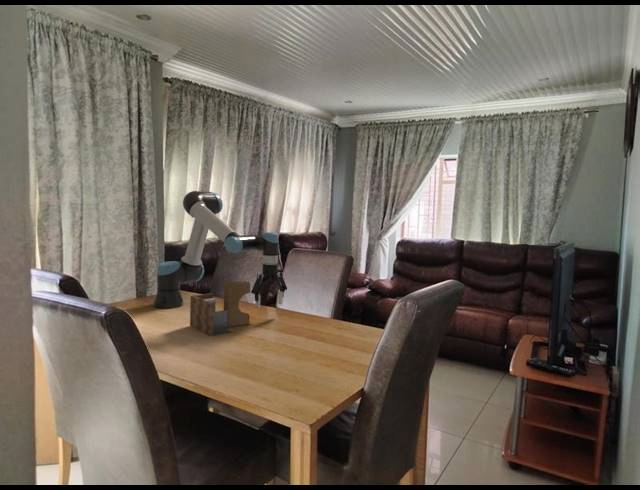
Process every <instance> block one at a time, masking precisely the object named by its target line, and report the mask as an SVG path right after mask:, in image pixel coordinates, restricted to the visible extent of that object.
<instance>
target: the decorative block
mask: <svg viewBox="0 0 640 490" xmlns="http://www.w3.org/2000/svg"><path fill="white" fill-rule="evenodd" d="M249 293H251V283H250V282H249V281H247V280H241V281H226V282H224V284H223V310H227V328H230V327H231V328H232V327H238V326H240V327H241V326H245V325H247V324H248V325H250V314H249V313H248V312H245V311H242V310H241V309H240V307H239V304H240V300H241V299H242V298H243V297H244V296H246V295H247V294H249Z"/></svg>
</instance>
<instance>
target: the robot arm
mask: <svg viewBox="0 0 640 490" xmlns="http://www.w3.org/2000/svg"><path fill="white" fill-rule="evenodd" d="M182 206H183V209H184V211H185V212H186V213H187V215H188V216H190V217H191V218H193V219H194V220H193V225H192V228H191V232H190V236H189V239H188V243H187V248H186V249H185V250H186V251H185V255H184V256H182V257H181V259H180V261H176V260H173V261H172V260H171V261H163V262H161V263H159V264H158V265H157V270H156V274H157V277H156V278H157V280H156V290H157V291H156V293H155V297H154V299H153V307H155V308H158V309H173V308H179V307H181V306H184V298H183V296H182V294H181V285H183V284H184V285H185V284H190V283H191V284H192V283H196V282H198V281H200V280H202V278H203V276H204V274H205V268H204V265H203V261H202V259H201V258H202V255H203V251H204V247H205V244H206V241H207V237H208V233H209V231H210V232H212V233H213V234H214V235H215V236H216V237H217V238H218V239H219V240H221V241H222V242H223V243H224V247H225V250H226V251H227V252H229V253H242V252H250V251H258V252H259V251H260V252H262V263H263V264H262V274H260V273H257V275H256V279H255V281H254V284H253V286H252V289H251V290H250V293H251V294H253V295H254V301H255V308H257V309H261V294H260V293H261V292H262V290H263V288H264V287H265V286H266V285H267V284H270V283H274V285H275V286H276V287H277V288H278V292H277V293H278V294H277V299H278V300H277V303H278V305H283V300H284V299H283V298H285V297H284V296H285V295H284V294H285V292H286V291H287V290H288V287H287V284H286V282H285V279H284V277H283V275H284V274H283V272H280V271H278V269H279V265H278V263H279V234H278V233H277V232H267V231H266V232H263V233H262V235H255V234H247V235H240V234H238V232H236V231H235V230H234V229H233V228H231V227H230V226H229V225H228V224H227V223H226V222H224V221H223V220H222V219H221V218H220V217H219V216H217V215H218V214H219V213H221V211H222V210H223V200H222V198H221V196H220V195H219V194H218V193H216V192H212V191H200V190H199V191H198V190H193V191H189V192H187V193H186V195H185V196H184V198H183V199H182Z"/></svg>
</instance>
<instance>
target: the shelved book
mask: <svg viewBox="0 0 640 490" xmlns="http://www.w3.org/2000/svg"><path fill="white" fill-rule="evenodd" d="M203 300H206V301H208V302H211V303H213V312H216V299H215V298H214V297H213V298H210V299H203Z"/></svg>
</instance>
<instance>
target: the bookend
mask: <svg viewBox="0 0 640 490" xmlns="http://www.w3.org/2000/svg"><path fill="white" fill-rule="evenodd" d="M228 333H232V330H230V329H228V327H227V310H224V309H223V310H218V311H216V310H215V312H213V336H212V337H214V336H218V335H223V334H228Z"/></svg>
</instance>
